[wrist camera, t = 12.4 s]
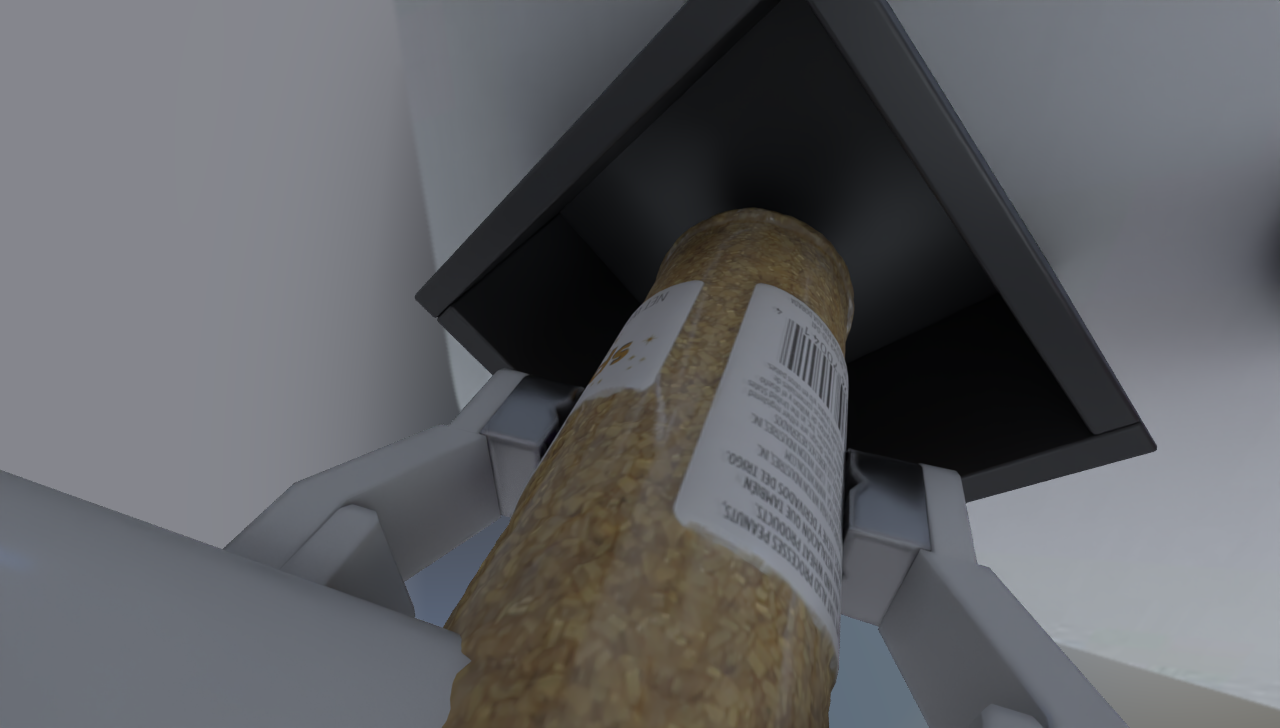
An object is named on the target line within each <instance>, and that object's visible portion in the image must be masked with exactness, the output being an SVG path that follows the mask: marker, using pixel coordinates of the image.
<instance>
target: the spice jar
mask: <svg viewBox="0 0 1280 728" xmlns="http://www.w3.org/2000/svg"><path fill="white" fill-rule="evenodd" d="M853 315H854V291H853V286H852V283H851V280H850V275H849V271H848V268H847V266H846V264H845V262H844V260H843V258H842V257H841V256H840V255H839V254H838V252H837V251H836V249H835V248H834V246H833V245H832V244H831V242H830V241H829V240H827V239H826V238H825V236H824V235H823V234H822V233H820V232H818V231H817V230H815V229H814V228H812V227H811V226H809V225H808V224H806V223H804V222H802V221H800V220H798V219H796V218H794V217H792V216H789V215H784V214H781V213H779V212H776V211H770V210H766V209H763V208H756V207H751V208H743V209H734V210H730V211H726V212H722V213H719V214H716V215H714V216H712V217H711V218H709V219H707V220H703V221H701V222H700V223H698V224H697V225H695V226H693V227H691V228H689V229H688V230H687V231H686V232H684V233H683V234H682V235H681V236H680V237H679V238H678V239H677V240H676V242H675V243H674V244H673V246H672V247H671V249H670V250H669V251H668V252H667V254H666V255H665V257H664V259H663V261H662V263H661V265H660V268H659V271H658V274H657V277H656V282H655V283H654V285H653V286H652V288H651V290H650V292H649V293H648V295H647V297H646V299H645V301H644V302H643V304H642V305H641V306H640V307H639V308H638V309H637V310H636V311H635V312H634V313H633V314H632V316H631V317H630V318H629V320H628V321H627V323H626V324H625V325H624V327H623V329H622V330H621V332H620V334H619V335H618V337H617V339H616V340H615V342H614V343H613V345H612V347H611V348H610V350H609V352H608V353H607V355H606V356H605V358H604V360H603V361H602V363H601V365H600V366H599V368H598V369H597V371H596V373H595V374H594V376H593V377H592V379H591V381H590V382H589V384H588V385H587V387H586V389H585V390H584V392H583V393H582V395H581V397H580V398H579V400H578V401H577V403H576V405H575V406H574V408H573V409H572V411H571V413H570V414H569V416H568V417H567V419H566V421H565V422H564V424H563V426H562V427H561V429H560V431H559V432H558V434H557V435H556V437H555V439H554V440H553V442H552V443H551V445H550V447H549V448H548V450H547V451H546V453H545V455H544V456H543V458H542V459H541V461H540V463H539V464H538V466H537V468H536V469H535V471H534V473H533V475H532V476H531V478H530V480H529V482H528V483H527V485H526V487H525V489H524V490H523V492H522V494H521V496H520V498H519V500H518V503H517V505H516V507H515V510H514V512H513V514H512V517H511V520H510V523H509V525H508V527H507V528H506V529H505V531H504V532H503V533H502V534H501V536H500V537H499V539H498V540H497V541H496V544H495V546H494V547H493V549H492V550H491V552H490V553H489V555H488V556H487V558H486V559H485V561H484V562H483V563H482V565H481V567H480V569H479V570H478V572H477V574H476V575H475V577H474V578H473V579H472V581H471V582H470V584H469V586H468V588H467V589H466V592H465V594H464V595H463V597H462V598H461V600H460V601H459V603H458V604H457V606H456V607H455V609H454V610H453V612H452V613H451V615H450V617H449V618H448V620H447V622H446V623H445V625H444V627H443V628H445V629H447V630H450V631H453V632H456V633H458V634H460V636H461V639H462V641H461V652H462V653H463V654H464V655H465V656H466V657H468V658H469V659H470V660H471V662H470V663H469V664H467V665H466V666H465V667H464V668H463V669H462V670H460V671H459V672H458V673H457V674H456V676H455V679H454V681H453V684H452V689H451V696H450V707H451V709H450V712H449V715H448V718H447V721H446V722H445V724H444V725H443V726H442V728H829V717H828V712H829V706H830V695H831V691H832V689H833V687H834V685H835V683H836V679H837V675H838V670H839V648H840V616H841V586H842V558H843V521H844V501H845V468H846V444H847V414H848V372H847V366H846V363H845V341H846V339H847V337H848V334H849V332H850V329H851V325H852V320H853Z"/></svg>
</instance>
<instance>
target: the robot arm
mask: <svg viewBox="0 0 1280 728" xmlns="http://www.w3.org/2000/svg"><path fill="white" fill-rule="evenodd" d="M584 390H585V389H584V388H583V387H580V386H576V385H572V384H568V383H564V382H560V381H556V380H552V379H548V378H544V377H541V376H537V375H533V374H530V375H529V374H526V373H522V372H519V371H515V370H511V369H507V368H503V369H501V370H498V371H497V372H496V373H495V374H494V375H493V376H492V377H491V378H490V379H489V380H488V382H487V383H486V384H485V385H484V386H483V387H482V388H481V389H480V391H479V392H478V393H477V394H476V395H475V396H474V397H473V398H472V400H471V401H470V402H469V403H468V404H467V405H466V406H465V407H464V408H463V410H462V411H461V412H460V413H459V414H458V415H457V416H456V417H455V419H454V420H453V421H452V422H451V423H450V424H449V425H448V426H447V425H442V424H439V425H437V426H434V427H431V428H429V429H426V430H424V431H422V432H419V433H417V434H414V435H412V436H409V437H407V438H404V439H402V440H399V441H397V442H394V443H392V444H389V445H387V446H384V447H382V448H380V449H377V450H375V451H372V452H370V453H367V454H365V455H362V456H360V457H357V458H355V459H352V460H350V461H348V462H345V463H343V464H340V465H338V466H335V467H333V468H330V469H328V470H325V471H323V472H320V473H318V474H315V475H313V476H310V477H308V478H305V479H303V480H300V481H298V482H296V483H294V484H293V485H292V486H291V487H289V488H288V489H287V490H286V491H285V492H284V493H283V494H282V495H281V496H280V497H279V498H278V499H276V501H274V502H273V503H272V504H271V505H270V506H269V507H268V508H267V509H266V510H265V511H263V513H261V514H260V515H259V516H258V517H257V518H256V519H255V520H254V521H253V522H252V523H251V524H249V525H248V526H247V527H246V528H245V529H244V530H243V531H242V532H241V533H240V534H239V535H237V536H236V537H235V538H234V539H233V540H232V541H231V542H230V543H229V544H228V545H227V546H226V547H224V548H223V549H220V548H218V547H214V546H212V545H209V544H206V543H203V542H201V541H198V540H195V539H192V538H190V537H187V536H184V535H181V534H178V533H175V532H173V531H170V530H167V529H164V528H162V527H158V526H156V525H153V524H150V523H148V522H144V521H142V520H139V519H136V518H133V517H130V516H128V515H125V514H122V513H119V512H117V511H114V510H111V509H108V508H105V507H103V506H100V505H97V504H94V503H91V502H89V501H86V500H83V499H80V498H77V497H75V496H72V495H69V494H66V493H63V492H61V491H58V490H55V489H52V488H50V487H46V486H44V485H41V484H38V483H36V482H32V481H30V480H27V479H24V478H22V477H19V476H16V475H13V474H10V473H8V472H5V471H2V470H0V728H442V726H443V725H444V724H445V722H446V721H447V718H448V715H449V712H450V709H451V707H450V696H451V689H452V684H453V681H454V679H455V676H456V674H457V673H458V672H459V671H460V670H462V669H463V668H464V667H465V666H466V665H467V664H469V663H470V662H471V660H470V659H469V658H468V657H466V656H465V655H464V654H463V653H462V652H461V641H462V639H461V636H460V634H458V633H456V632H453V631H450V630H447V629H445V628H441V627H439V626H436V625H433V624H431V623H428V622H425V621H422V620H419V619H417V618H414V617H415V611H414V606H413V604H412V601H411V598H410V596H409V593H408V591H407V588H406V586H405V583H404V582H405V581H406V580H408V579H409V578H411V577H412V576H414V575H415V574H417V573H418V572H420V571H421V570H422V569H424V568H426V567H427V566H429V565H430V564H432V563H433V562H435V561H436V560H438V559H439V558H441V557H442V556H444V555H445V554H447V553H448V552H450V551H451V550H453V549H454V548H456V547H457V546H459V545H460V544H462V543H463V542H465V541H466V540H468V539H469V538H471V537H473V536H474V535H476V534H477V533H478V532H480V531H481V530H483V529H485V528H486V527H487V526H489V525H491V524H492V523H494V522H495V521H497V520H498V519H499V518H501V515H504V516H508V517H512V514H513V512H514V510H515V507H516V505H517V503H518V500H519V498H520V496H521V494H522V492H523V490H524V489H525V487H526V485H527V483H528V482H529V480H530V478H531V476H532V475H533V473H534V471H535V469H536V468H537V466H538V464H539V463H540V461H541V459H542V458H543V456H544V455H545V453H546V451H547V450H548V448H549V447H550V445H551V443H552V442H553V440H554V439H555V437H556V435H557V434H558V432H559V431H560V429H561V427H562V426H563V424H564V422H565V421H566V419H567V417H568V416H569V414H570V413H571V411H572V409H573V408H574V406H575V405H576V403H577V401H578V400H579V398H580V397H581V395H582V393H583V392H584ZM841 614H842V615H845V616H848V617H851V618H854V619H857V620H860V621H864V622H867V623H870V624H873V625H876V626H879V628H878V630H879V632H880V634H881V636H882V638H883V639H884V642H885V644H886V645H887V647H888V649H889V651H890V653H891V655H892V657H893V659H894V661H895V663H896V665H897V667H898V669H899V670H900V672H901V674H902V676H903V678H904V680H905V682H906V683H907V686H908V688H909V689H910V691H911V693H912V695H913V697H914V699H915V701H916V703H917V705H918V707H919V708H920V711H921V713H922V715H923V716H924V718H925V720H926V722H927V724H928V726H929V728H1130V727H1129V726H1128V725H1127V724H1126V723H1125V722H1124V721H1123V719H1122V718H1121V717H1120V716H1119V715H1118V714H1117V713H1116V712H1115V710H1114V709H1113V708H1112V707H1111V706H1110V705H1109V703H1108V702H1107V701H1106V700H1105V699H1104V698H1103V697H1102V696H1101V694H1100V693H1099V692H1098V691H1097V690H1096V689H1095V687H1093V685H1092V684H1091V683H1090V682H1089V681H1088V680H1087V678H1086V677H1085V676H1084V675H1083V674H1082V673H1081V672H1080V670H1079V669H1078V668H1077V667H1076V666H1075V665H1074V664H1073V662H1072V661H1071V660H1070V659H1069V658H1068V657H1067V656H1066V654H1065V653H1064V652H1063V651H1062V650H1061V649H1060V648H1059V646H1058V645H1057V644H1056V643H1055V642H1054V641H1053V640H1052V638H1051V637H1050V636H1049V635H1048V634H1047V633H1046V632H1045V630H1044V629H1043V628H1042V627H1041V626H1040V625H1039V624H1038V622H1037V621H1036V620H1035V619H1034V618H1033V617H1032V616H1031V614H1030V613H1029V612H1028V611H1027V610H1026V609H1025V608H1024V606H1023V605H1022V604H1021V603H1020V602H1019V601H1018V600H1017V598H1016V597H1015V596H1014V595H1013V594H1012V593H1011V592H1010V590H1009V589H1008V588H1007V587H1006V586H1005V585H1004V584H1003V583H1002V581H1001V580H1000V579H999V578H998V577H997V576H996V575H995V573H994V572H993V571H992V570H991V569H990V568H989V567H986V566H982V565H978V564H977V560H976V554H975V549H974V544H973V539H972V533H971V528H970V523H969V518H968V512H967V507H966V502H965V497H964V491H963V486H962V481H961V476H960V475H959V474H958V473H957V471H955V470H950V469H945V468H940V467H936V466H931V465H926V464H921V463H919V464H917V463H914V462H910V461H905V460H901V459H896V458H892V457H887V456H883V455H878V454H874V453H869V452H864V451H860V450H855V449H851V448H848V450H847V452H846V468H845V501H844V521H843V558H842V586H841Z"/></svg>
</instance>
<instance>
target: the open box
mask: <svg viewBox="0 0 1280 728" xmlns="http://www.w3.org/2000/svg"><path fill="white" fill-rule="evenodd" d="M751 207H756V208H763V209H766V210H770V211H776V212H779V213H781V214H784V215H789V216H792V217H794V218H796V219H798V220H800V221H802V222H804V223H806V224H808V225H809V226H811V227H812V228H814V229H815V230H817V231H818V232H820V233H822V234H823V235H824V236H825V238H826V239H827V240H829V241H830V242H831V244H832V245H833V246H834V248H835V249H836V251H837V252H838V254H839V255H840V256H841V257H842V258H843V260H844V262H845V264H846V266H847V268H848V271H849V275H850V280H851V283H852V286H853V291H854V315H853V320H852V325H851V329H850V332H849V334H848V337H847V339H846V341H845V363H846V366H847V372H848V414H847V444H846V452H847V450H848V448H851V449H855V450H860V451H864V452H869V453H874V454H878V455H883V456H887V457H892V458H896V459H901V460H905V461H910V462H914V463H917V464H919V463H921V464H926V465H931V466H936V467H940V468H945V469H950V470H955V471H957V473H958V474H959V475H960V476H961V481H962V486H963V491H964V497H965V502H966V503H967V502H971V501H975V500H978V499H982V498H986V497H989V496H993V495H996V494H1000V493H1004V492H1007V491H1011V490H1015V489H1018V488H1022V487H1026V486H1029V485H1033V484H1037V483H1040V482H1044V481H1048V480H1051V479H1055V478H1059V477H1062V476H1066V475H1070V474H1073V473H1077V472H1081V471H1084V470H1088V469H1092V468H1095V467H1099V466H1103V465H1106V464H1110V463H1114V462H1117V461H1121V460H1125V459H1128V458H1132V457H1136V456H1139V455H1143V454H1147V453H1150V452H1154V451H1156V450H1157V445H1156V444H1155V442H1154V440H1153V438H1152V437H1151V435H1150V433H1149V432H1148V430H1147V428H1146V427H1145V425H1144V423H1143V422H1142V420H1141V418H1140V416H1139V415H1138V413H1137V411H1136V410H1135V408H1134V406H1133V405H1132V403H1131V401H1130V400H1129V398H1128V396H1127V394H1126V393H1125V391H1124V389H1123V388H1122V386H1121V384H1120V383H1119V381H1118V379H1117V378H1116V376H1115V374H1114V372H1113V371H1112V369H1111V367H1110V366H1109V364H1108V362H1107V361H1106V359H1105V357H1104V355H1103V354H1102V352H1101V350H1100V349H1099V347H1098V345H1097V344H1096V342H1095V340H1094V339H1093V337H1092V335H1091V333H1090V332H1089V330H1088V328H1087V327H1086V325H1085V323H1084V322H1083V320H1082V318H1081V317H1080V315H1079V313H1078V311H1077V310H1076V308H1075V306H1074V305H1073V303H1072V301H1071V300H1070V298H1069V296H1068V295H1067V293H1066V291H1065V289H1064V288H1063V286H1062V284H1061V283H1060V281H1059V279H1058V278H1057V276H1056V274H1055V273H1054V271H1053V269H1052V268H1051V266H1050V264H1049V263H1048V261H1047V260H1046V258H1045V256H1044V255H1043V253H1042V252H1041V250H1040V248H1039V247H1038V245H1037V243H1036V242H1035V240H1034V239H1033V237H1032V235H1031V234H1030V232H1029V230H1028V229H1027V227H1026V226H1025V224H1024V222H1023V221H1022V219H1021V218H1020V216H1019V214H1018V213H1017V211H1016V209H1015V208H1014V206H1013V205H1012V203H1011V201H1010V200H1009V198H1008V196H1007V195H1006V193H1005V192H1004V190H1003V188H1002V187H1001V185H1000V183H999V182H998V180H997V179H996V177H995V175H994V174H993V172H992V171H991V169H990V167H989V166H988V164H987V162H986V161H985V159H984V158H983V156H982V154H981V153H980V151H979V149H978V148H977V146H976V145H975V143H974V141H973V140H972V138H971V136H970V135H969V133H968V132H967V130H966V128H965V127H964V125H963V124H962V122H961V120H960V119H959V117H958V115H957V114H956V112H955V111H954V109H953V107H952V106H951V104H950V102H949V101H948V99H947V98H946V96H945V94H944V93H943V91H942V90H941V88H940V86H939V85H938V83H937V81H936V80H935V78H934V77H933V75H932V73H931V72H930V70H929V68H928V67H927V65H926V64H925V62H924V60H923V59H922V57H921V55H920V54H919V52H918V51H917V49H916V47H915V46H914V44H913V43H912V41H911V39H910V38H909V36H908V34H907V33H906V31H905V30H904V28H903V26H902V25H901V23H900V21H899V20H898V18H897V17H896V15H895V13H894V12H893V10H892V9H891V7H890V5H889V4H888V2H887V0H688V1H687V2H686V3H685V5H684V6H683V7H682V8H681V9H680V10H679V11H678V12H677V13H676V14H675V15H674V16H673V18H672V19H671V20H670V21H669V22H668V23H667V24H666V25H665V26H664V27H663V28H662V29H661V30H660V32H659V33H658V34H657V35H656V36H655V37H654V38H653V39H652V40H651V41H650V42H649V43H648V44H647V46H646V47H645V48H644V49H643V50H642V51H641V52H640V53H639V54H638V55H637V56H636V57H635V58H634V60H633V61H632V62H631V63H630V64H629V65H628V66H627V67H626V68H625V69H624V70H623V71H622V72H621V74H620V75H619V76H618V77H617V78H616V79H615V80H614V81H613V82H612V83H611V84H610V85H609V86H608V88H607V89H606V90H605V91H604V92H603V93H602V94H601V95H600V96H599V97H598V98H597V99H596V100H595V102H594V103H593V104H592V105H591V106H590V107H589V108H588V109H587V110H586V111H585V112H584V113H583V115H582V116H581V117H580V118H579V119H578V120H577V121H576V122H575V123H574V124H573V125H572V126H571V127H570V129H569V130H568V131H567V132H566V133H565V134H564V135H563V136H562V137H561V138H560V139H559V140H558V141H557V143H556V144H555V145H554V146H553V147H552V148H551V149H550V150H549V151H548V152H547V153H546V154H545V155H544V157H543V158H542V159H541V160H540V161H539V162H538V163H537V164H536V165H535V166H534V167H533V168H532V169H531V171H530V172H529V173H528V174H527V175H526V176H525V177H524V178H523V179H522V180H521V181H520V182H519V183H518V185H517V186H516V187H515V188H514V189H513V190H512V191H511V192H510V193H509V194H508V195H507V196H506V197H505V199H504V200H503V201H502V202H501V203H500V204H499V205H498V206H497V207H496V208H495V209H494V210H493V212H492V213H491V214H490V215H489V216H488V217H487V218H486V219H485V220H484V221H483V222H482V223H481V224H480V226H479V227H478V228H477V229H476V230H475V231H474V232H473V233H472V234H471V235H470V236H469V237H468V238H467V240H466V241H465V242H464V243H463V244H462V245H461V246H460V247H459V248H458V249H457V250H456V251H455V252H454V254H453V255H452V256H451V257H450V258H449V259H448V260H447V261H446V262H445V263H444V264H443V265H442V266H441V268H440V269H439V270H438V271H437V272H436V273H435V274H434V275H433V276H432V277H431V278H430V280H429V281H428V282H427V283H426V284H425V285H424V286H423V287H422V288H421V289H420V290H419V291H418V292H417V293H416V295H415V299H416V300H417V301H418V302H419V303H420V304H421V305H422V306H423V307H424V308H425V309H426V310H427V311H428V312H429V313H430V314H431V315H432V316H433V317H438V319H437V321H438V322H439V323H440V324H441V325H442V326H443V327H444V328H445V329H446V330H447V331H448V332H449V333H450V334H451V335H452V336H453V337H454V338H455V339H456V340H457V341H458V342H459V343H460V344H461V345H462V346H463V347H464V348H465V349H466V350H467V351H468V352H469V353H470V354H471V355H472V356H473V357H475V358H476V359H477V360H478V361H479V362H480V363H481V364H482V365H483V366H484V367H485V368H486V369H487V370H488V371H489V372H490V373H491V374H492V375H494V374H495V373H496V372H497V371H498V370H501V369H503V368H507V369H511V370H515V371H519V372H522V373H526V374H529V375H530V374H533V375H537V376H541V377H544V378H548V379H552V380H556V381H560V382H564V383H568V384H572V385H576V386H580V387H583V388H584V389H586V387H587V385H588V384H589V382H590V381H591V379H592V377H593V376H594V374H595V373H596V371H597V369H598V368H599V366H600V365H601V363H602V361H603V360H604V358H605V356H606V355H607V353H608V352H609V350H610V348H611V347H612V345H613V343H614V342H615V340H616V339H617V337H618V335H619V334H620V332H621V330H622V329H623V327H624V325H625V324H626V323H627V321H628V320H629V318H630V317H631V316H632V314H633V313H634V312H635V311H636V310H637V309H638V308H639V307H640V306H641V305H642V304H643V302H644V301H645V299H646V297H647V295H648V293H649V292H650V290H651V288H652V286H653V285H654V283H655V282H656V277H657V274H658V271H659V268H660V265H661V263H662V261H663V259H664V257H665V255H666V254H667V252H668V251H669V250H670V249H671V247H672V246H673V244H674V243H675V242H676V240H677V239H678V238H679V237H680V236H681V235H682V234H683V233H684V232H686V231H687V230H688V229H689V228H691V227H693V226H695V225H697V224H698V223H700V222H701V221H703V220H707V219H709V218H711V217H712V216H714V215H716V214H719V213H722V212H726V211H730V210H734V209H743V208H751Z"/></svg>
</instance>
